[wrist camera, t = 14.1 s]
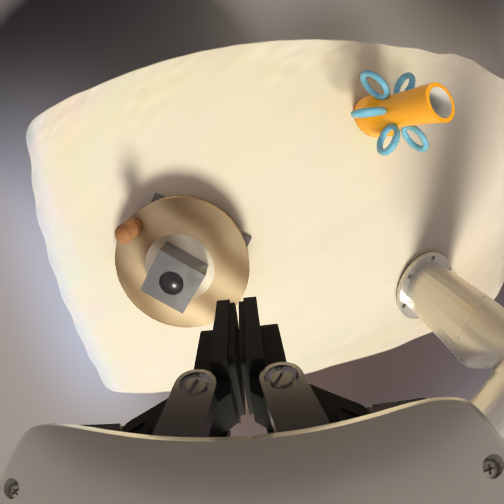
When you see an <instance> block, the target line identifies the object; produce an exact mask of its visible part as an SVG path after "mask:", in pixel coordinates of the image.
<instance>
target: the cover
mask: <svg viewBox="0 0 504 504" xmlns="http://www.w3.org/2000/svg"><path fill="white" fill-rule="evenodd" d="M207 268H208V264H207V263H205V262H203V261H201V260H200V259H198V258H196V257H194V256H193V255H191V254H189V253H187V252H186V251H184V250H182V249H180V248H179V247H177V246H175V245H173V244H172V243H170V242H168V241H166V242H165V244H164V245H163V246H162V247H161V249H160V250H159V252H158V254H157V256H156V258H155V260H154V262H153V264H152V266H151V268H150V270H149V272H148V274H147V276H146V278H145V280H144V283H143V285H142V287H141V289H140V290H141V291H143V292H144V293H146V294H148V295H149V296H151V297H153V298H155V299H157V300H158V301H160V302H162V303H164V304H166V305H167V306H169V307H171V308H173V309H175V310H177V311H179V312H180V313H182V314H183V313H184V311H185V309H186V308H187V306H188V304H189V303H190V301H191V299H192V298H193V296H194V294H195V293H196V291H197V289H198V288H199V286H200V284H201V283H202V281H203V279H204V278H205V276H206V272H207Z"/></svg>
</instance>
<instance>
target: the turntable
mask: <svg viewBox="0 0 504 504" xmlns="http://www.w3.org/2000/svg"><path fill="white" fill-rule="evenodd" d="M115 237H116V239H117V240H118V241H117V245H116V251H115V265H116V271H117V275H118V278H119V281H120V283H121V286H122V288H123V290H124V291H125V293H126V295H127V296H128V297H129V299H130V300H131V301H132V302H133V304H134V305H135V306H136V307H137V308H138V309H140V310H141V311H142V312H143V313H145V314H146V315H148V316H149V317H151V318H153V319H155V320H157V321H159V322H161V323H164V324H167V325H171V326H176V327H199V326H203V325H207V324H210V323H213V322H214V319H215V311H216V303H217V301H218V300H228V299H230V303H232V302H235V305H237V304H238V302H239V301H240V299H241V297H242V296H243V294H244V291H245V289H246V286H247V283H248V278H249V257H248V251H247V246H246V243H245V239H244V237H243V235H242V233H241V231H240V229H239V228H238V226H237V225H236V223H235V222H234V221H233V220H232V218H231V217H230V216H229V215H228V214H226V213H225V212H224V211H223V210H222V209H220V208H219V207H217V206H216V205H214V204H212V203H210V202H208V201H206V200H203V199H200V198H197V197H192V196H182V195H180V196H170V197H165V198H162V199H159V200H156V201H154V202H152V203H150V204H148V205H146V206H145V207H143V208H141V209H140V210H139V211H137V212H136V213H135V214H134V215H133V216H132V217H131V218H130V219H129V220H128V221H126V222H125V223H123V224H121V225H120V226H118V227H117V228H116V230H115ZM166 241H168V242H170V243H172V244H173V245H175V246H177V247H179V248H180V249H182V250H184V251H186V252H187V253H189V254H191V255H193V256H194V257H196V258H198V259H200V260H201V261H203V262H205V263H207V264H208V268H207V272H206V276H205V278H204V279H203V281H202V283H201V284H200V286H199V288H198V289H197V291H196V293H195V294H194V296H193V298H192V299H191V301H190V303H189V304H188V306H187V308H186V309H185V311H184V313H183V314H182V313H180V312H179V311H177V310H175V309H173V308H171V307H169V306H167V305H166V304H164V303H162V302H160V301H158V300H157V299H155V298H153V297H151V296H149V295H148V294H146V293H144V292H143V291H141V290H140V289H141V287H142V285H143V283H144V280H145V278H146V276H147V274H148V272H149V270H150V268H151V266H152V264H153V262H154V260H155V258H156V256H157V254H158V252H159V250H160V249H161V247H162V246H163V245H164V244H165V242H166Z"/></svg>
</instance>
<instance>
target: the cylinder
mask: <svg viewBox="0 0 504 504" xmlns="http://www.w3.org/2000/svg"><path fill="white" fill-rule="evenodd" d="M366 77H371V78H373V79H375V80H376V81H377V82H378V83H379V84H380V85H381V87H382V88H383V91H384V92H376V91H375V90H373V89H372V88H371V87H370V85H369V84H368V82H367V80H366ZM408 78H409V84H408V86H407V88H406V89H405V90H404V91H403V92H400V93H399V91H400V87H401V85H402V84H403V82H404V81H405V80H406V79H408ZM360 81H361V83H362V85H363V87H364V88H365V89H366V91H367V92H368V93H369V94H371V95H369V96H366V97H364V98H362V99H360V100H359V101H358V102H357V104H356V106H355V109H354V111H352V112H351V116H352V117H354V118H355V121H356V123H357V125H358V127H359V128H360V130H362V131H363V132H364V133H365V134H367V135H368V136H371V137H379V138H378V141H377V151H378V153H379V154H380V155H383V156H386V155H388V154H390V153H391V152H392V151H393V150H394V149H395V148H396V146H397V144H398V142H399V139H400V131H401V133H402V135H403V137H404V139H405V140H406V142H407V143H408V144H409V145H410V146H411V147H413V148H414V149H416V150H418V151H420V152H425V151H427V149H428V147H429V143H428V140H427V138H426V136H425V134H424V133H423V132H422V131H421V130H420V129H419V128H418V127H416V126H415V125H424V124H435V123H447V122H450V121H451V120H452V119H453V117H454V113H455V106H454V101H453V99H452V96H451V94H450V93H449V91H448V90H447V89H446V88H445V87H444V86H443V85H441V84H439V83H436V82H434V83H430V84H426V85H423V86H419V87H416V88H414V86H415V77H414V75H413V74H412V73H409V72H407V73H404V74H403V75H402V76H400V78H399V79H398V80H397V82H396V84H395V87H394V94H393V95H391V94H390V89H389V87H388V85H387V83H386V82H385V81H384V79H383V78H382V77H381V76H379V75H378V74H376V73H375V72H372V71H369V70H366V71H363V72H361V74H360ZM407 129H409V130H412V131H413V132H415V133H416V134H417V135H418V136H419V137H420V139H421V140H422V142H423V146H420V145H418V144H416V143H415V142H414V141H413V140H412V139H411V138H410V137H409V135H408V133H407ZM386 136H393V138H392V141H391V143H390V144H389V145H388V147H387V148H385V149H383V142H384V139H385V137H386Z"/></svg>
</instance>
